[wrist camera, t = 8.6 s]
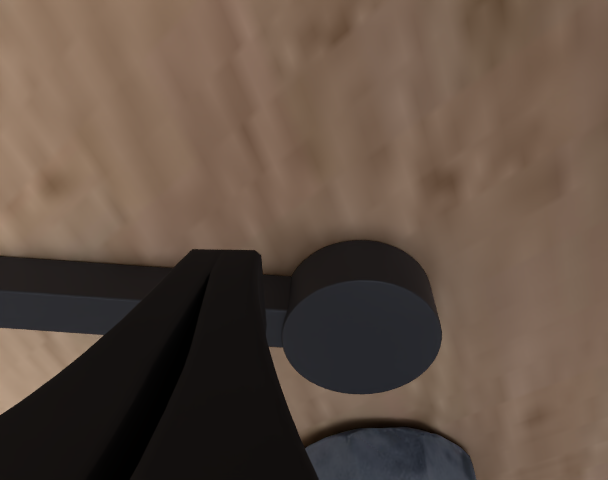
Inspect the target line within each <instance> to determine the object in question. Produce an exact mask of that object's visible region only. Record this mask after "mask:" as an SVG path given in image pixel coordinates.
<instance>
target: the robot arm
mask: <svg viewBox="0 0 608 480" xmlns="http://www.w3.org/2000/svg"><path fill="white" fill-rule="evenodd" d="M266 327H267V323H266V310H265V298H264V285H263V272H262V259H261V255H260V254H259V253H258V252H257V251H255V250H205V249H192V250H191V251H190V252H189V253H188V254H187V255H186V256H185V257H184V258H183V259H182V260H181V261H180V262H179V263H178V264H177V265H176V266H175V267H174V268H173V269H172V270H171V271H170V272H169V273H168V274H167V275H166V276H165V277H164V278H163V279H162V280H161V281H160V282H159V283H158V284H157V285H156V286H155V287H154V288H153V289H152V290H151V291H150V292H149V293H148V294H147V295H146V296H145V297H144V298H143V299H142V300H141V301H140V302H139V303H138V304H137V305H136V306H135V307H134V308H133V309H132V310H131V311H130V312H129V313H128V314H127V315H126V316H125V317H124V318H123V319H122V320H121V321H119V322H118V323H117V324H116V325H115V326H114V327H113V328H112V329H111V330H110V331H108V332H107V333H106V334H105V335H104V336H103V337H102V338H100V339H99V340H98V341H97V342H96V343H95V344H94V345H93V346H91V347H90V348H89V349H88V350H87V351H86V352H85V353H83V354H82V355H81V356H80V357H79V358H77V359H76V360H75V361H74V362H72V363H71V364H70V365H69V366H67V367H66V368H65V369H64V370H62V371H61V372H60V373H59V374H57V375H56V376H55V377H53V378H52V379H51V380H49V381H48V382H47V383H45V384H44V385H42V386H41V387H40V388H38V389H37V390H36V391H34V392H33V393H32V394H30V395H29V396H28V397H26V398H25V399H23V400H22V401H21V402H19V403H18V404H16V405H15V406H13V407H12V408H10V409H9V410H7V411H6V412H4V413H3V414H1V415H0V480H319V478H318V476H317V474H316V472H315V469H314V467H313V465H312V463H311V461H310V459H309V456H308V454H307V452H306V450H305V448H304V445H303V443H302V441H301V439H300V436H299V434H298V431H297V429H296V426H295V424H294V421H293V419H292V416H291V414H290V411H289V409H288V406H287V403H286V400H285V398H284V395H283V392H282V389H281V386H280V383H279V380H278V377H277V374H276V371H275V368H274V364H273V361H272V357H271V354H270V350H269V346H268V343H267V338H266Z"/></svg>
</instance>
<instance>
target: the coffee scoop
mask: <svg viewBox="0 0 608 480" xmlns="http://www.w3.org/2000/svg"><path fill="white" fill-rule="evenodd" d="M172 269H173V268H160V267H146V266H131V265H117V264H103V263H88V262H74V261H59V260H45V259H31V258H16V257H2V256H0V328H12V329H26V330H40V331H55V332H69V333H83V334H97V335H105V334H106V333H107V332H108V331H110V330H111V329H112V328H113V327H114V326H115V325H116V324H117V323H118V322H119V321H121V320H122V319H123V318H124V317H125V316H126V315H127V314H128V313H129V312H130V311H131V310H132V309H133V308H134V307H135V306H136V305H137V304H138V303H139V302H140V301H141V300H142V299H143V298H144V297H145V296H146V295H147V294H148V293H149V292H150V291H151V290H152V289H153V288H154V287H155V286H156V285H157V284H158V283H159V282H160V281H161V280H162V279H163V278H164V277H165V276H166V275H167V274H168V273H169V272H170V271H171V270H172ZM263 285H264V298H265V310H266V323H267V327H266V338H267V343H268V346H269V347H283V349H284V352H285V354H286V357H287V359H288V360H289V362H290V364H291V365H292V366H293V367H294V369H295V370H296V371H297V372H298V373H299V374H301V375H302V376H303V377H304V378H306V379H307V380H309V381H310V382H312V383H314V384H316V385H318V386H320V387H323V388H325V389H329V390H332V391H336V392H341V393H348V394H373V393H380V392H385V391H389V390H392V389H395V388H398V387H401V386H403V385H405V384H407V383H409V382H411V381H412V380H414V379H416V378H417V377H418V376H420V375H421V374H422V373H423V372H425V371H426V370H427V369H428V368H429V366H430V365H431V364H432V363H433V361H434V360H435V358H436V356H437V354H438V352H439V349H440V346H441V341H442V330H441V324H440V320H439V317H438V313H437V309H436V305H435V301H434V297H433V294H432V290H431V286H430V282H429V280H428V277H427V275H426V273H425V271H424V270H423V268H422V267H421V266H420V265H419V263H418V262H417V261H415V260H414V259H413V258H412V257H411V256H409V255H408V254H407V253H405V252H404V251H402V250H400V249H398V248H396V247H393V246H390V245H388V244H384V243H380V242H375V241H365V240H355V241H346V242H341V243H336V244H333V245H330V246H327V247H325V248H323V249H320V250H318V251H317V252H315V253H313V254H312V255H310V256H309V257H308V258H307V259H305V260H304V261H303V262H302V263H301V264H300V265H299V266H298V267H297V269H296V270H295V272H294V273H293V275H292V277H290V276H275V275H263Z"/></svg>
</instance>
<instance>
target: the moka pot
mask: <svg viewBox="0 0 608 480" xmlns="http://www.w3.org/2000/svg"><path fill="white" fill-rule="evenodd" d="M305 450H306V452H307V454H308V456H309V459H310V461H311V463H312V465H313V467H314V469H315V472H316V474H317V476H318V478H319V480H476V476H475V472H474V468H473V464H472V462H471V459H470V456H469V455H468V454H467V453H466V452H465V451H464V450H463V449H462V448H460V447H459V446H458V445H456V444H454V443H452V442H450V441H449V440H447V439H445V438H443V437H442V436H440V435H437V434H435V433H433V434H431V433H429V432H426V431H423V430H419V429H413V428H409V427H396V428H360V429H355V430H350V431H345V432H342V433H338V434H335V435H332V436H329V437H326V438H323V439H321V440H320V441H318V442H316V443H313V444H310V445H309V446H308V447H306V448H305Z"/></svg>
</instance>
